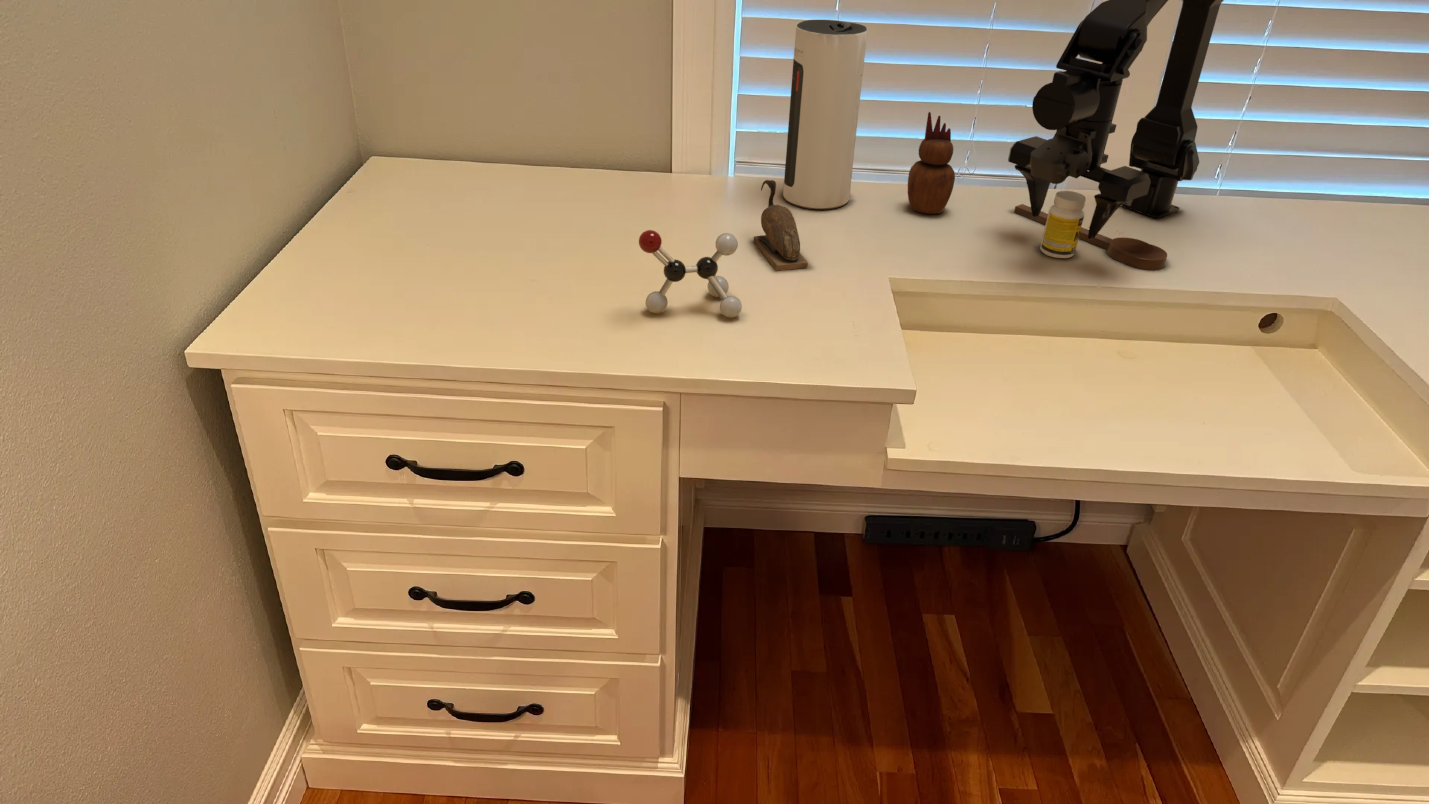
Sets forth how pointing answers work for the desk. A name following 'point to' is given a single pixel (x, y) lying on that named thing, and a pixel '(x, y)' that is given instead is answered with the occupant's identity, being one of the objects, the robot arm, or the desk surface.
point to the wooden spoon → (1115, 245)
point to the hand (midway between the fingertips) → (1062, 227)
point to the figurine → (779, 235)
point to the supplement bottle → (1063, 225)
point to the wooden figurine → (932, 171)
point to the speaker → (823, 112)
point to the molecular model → (704, 269)
